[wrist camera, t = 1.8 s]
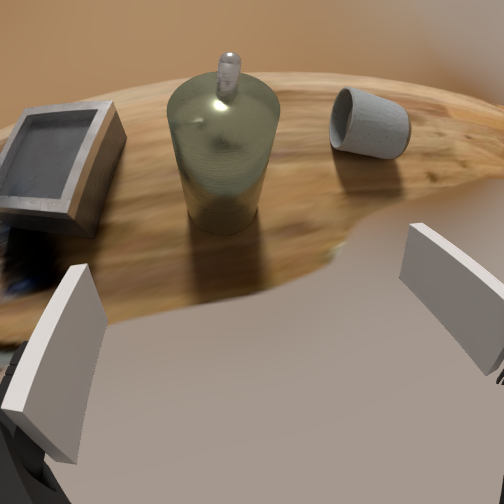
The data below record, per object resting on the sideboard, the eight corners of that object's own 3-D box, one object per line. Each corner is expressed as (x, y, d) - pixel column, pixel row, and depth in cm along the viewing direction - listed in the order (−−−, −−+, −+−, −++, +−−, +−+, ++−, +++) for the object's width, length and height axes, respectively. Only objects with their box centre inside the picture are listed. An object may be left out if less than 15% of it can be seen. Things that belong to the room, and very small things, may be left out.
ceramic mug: (392, 172, 34) (423, 136, 27) (331, 162, 33) (355, 119, 26) (377, 111, 37) (399, 74, 30) (323, 100, 37) (339, 58, 29)
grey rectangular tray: (-5, 225, 27) (-35, 204, 21) (30, 139, 31) (9, 110, 25) (94, 238, 28) (66, 213, 22) (126, 137, 32) (112, 100, 26)
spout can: (253, 240, 30) (285, 128, 14) (181, 231, 29) (145, 115, 13) (259, 177, 32) (288, 50, 16) (194, 170, 31) (179, 41, 16)
